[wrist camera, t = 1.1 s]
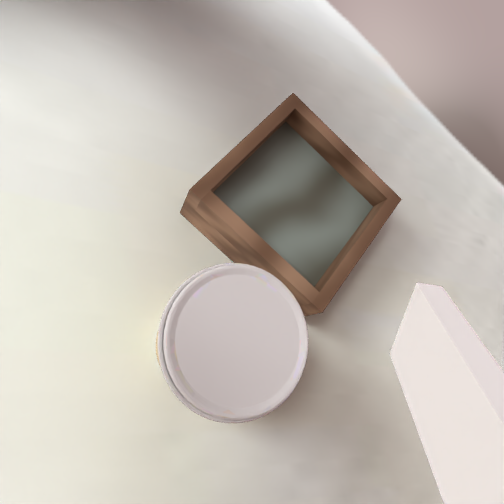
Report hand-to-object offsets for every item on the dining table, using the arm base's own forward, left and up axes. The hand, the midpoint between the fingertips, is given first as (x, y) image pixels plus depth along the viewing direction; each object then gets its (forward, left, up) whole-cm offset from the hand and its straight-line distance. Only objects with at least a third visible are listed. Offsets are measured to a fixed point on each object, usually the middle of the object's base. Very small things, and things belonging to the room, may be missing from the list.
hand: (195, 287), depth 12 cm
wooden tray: (+2, +17, -22) cm, 28 cm away
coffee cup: (+4, +2, -22) cm, 23 cm away
